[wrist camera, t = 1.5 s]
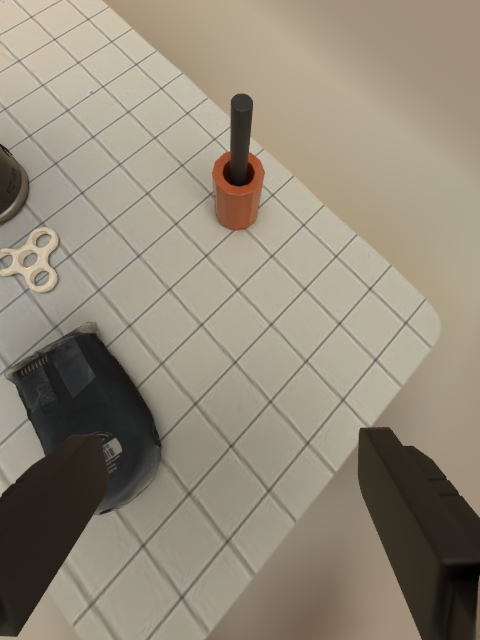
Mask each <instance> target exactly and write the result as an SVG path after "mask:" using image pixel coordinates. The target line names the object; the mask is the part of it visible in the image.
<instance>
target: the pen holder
mask: <svg viewBox="0 0 480 640" xmlns="http://www.w3.org/2000/svg"><path fill="white" fill-rule="evenodd" d="M264 174H265V172H264V169H263V166H262V164H261V161H260V160H259V159H258V158H256V157H255V156H254V155H253V154H251V153H249V155H248V167H247V178H246V185H244V186H241V187H239V186H234V185H230V152H226V153H225V154H223V155H222V156H221V157H220V158H219V159H218V160H216V162H215V164H214V168H213V172H212V176H213V189H214V201H215V210H216V215H217V218H218V220H219V221H220V223H221V224H222V225H224V226H225V227H227V228H229V229H232V230H242V229H245V228H247V227H249V226H251V225H252V224H253V223H254V221H255V220H256V217H257V213H258V208H259V202H260V197H261V191H262V185H263V180H264Z"/></svg>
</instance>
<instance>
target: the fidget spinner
mask: <svg viewBox="0 0 480 640" xmlns="http://www.w3.org/2000/svg"><path fill="white" fill-rule="evenodd" d="M42 234H50V236H51V240H50V242H49V244H48V245H46V246H45V247H37V246H36V240H37V238H38V237H39V236H40V235H42ZM57 245H58V236H57V234H56V232H55V231H53V230H52V229H50V228H47V227H40V228H37V229H35V230H33V231H32V232H31V233H30V235H29V237H28V240H27V242H26V244H25V245H24V246H23V247H21V248H19V249H9V248H3V249H0V259H1V258H2V257H3V256H6V255H12V257H13V262H12V264H11V266H10V267H8V268H6V269H3V270H0V275H1V276H9V275H12V274H15V273H20V274H22V275H23V276H24V277H25V279H26V284H27V286H28V287H29V288H30V289H31V290H33V291H35V292H40V293H41V292H47V291H49V290H51V289H52V288H53V287H54V286H55V284H56V282H57V273H56V271H55V270H54V269H53V268H52V267H50V265H49V264H48V256H49V254H50V253H51V252H52V251H53V250H54V249H55V248H56V247H57ZM31 253H36V254H37V261H36V263H35V264H34V265H33V266H31V267H24V265H23V261H24V259H25V257H26V256H27V255H29V254H31ZM41 271H48V273H49V280H48V282H47V283H46V284H44V285H42V286H36V285H35V283H34V278H35V276H36V275H37V274H38V273H39V272H41Z"/></svg>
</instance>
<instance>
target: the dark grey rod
mask: <svg viewBox="0 0 480 640" xmlns="http://www.w3.org/2000/svg"><path fill="white" fill-rule="evenodd" d="M252 111H253V101H252V99H251V97H249V96H248V95H246V94H237V95H235V96H234V97H233V98H232V100H231V144H230V185H234V186H239V187H241V186H244V185H246V178H247V167H248V155H249V144H250V133H251V122H252Z"/></svg>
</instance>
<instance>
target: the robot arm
mask: <svg viewBox="0 0 480 640" xmlns="http://www.w3.org/2000/svg"><path fill="white" fill-rule="evenodd" d="M5 150H6V151H7V152H8V153H10V152H9V151H8V150H7V148H5V147H4V146H2V145H1V144H0V224H2V223H4V222H6V221H7V220H9V219H10V218H11V217H13V216H14V215H15V214H16V213H17V212H18V211H19V209H20V208H21V207H22V205H23V204H24V202H25V200H26V197H27V194H28V188H29V184H28V177H27V175H26V172H25V170H24V169H23V167H22V166H21V165H20V164H19V163H18V162H17V161H16V160H15V159H14V158H13V157H12V156H11V155H12V154H11V153H10V154H11V155H10V154H8V153H7V152H6V151H5ZM358 479H359V485H360V489H361V493H362V496H363V498H364V500H365V503H366V506H367V508H368V511H369V513H370V515H371V518H372V520H373V523H374V525H375V527H376V530H377V532H378V535H379V537H380V540H381V542H382V544H383V547H384V549H385V551H386V554H387V556H388V559H389V561H390V564H391V566H392V568H393V571H394V573H395V576H396V578H397V581H398V583H399V585H400V588H401V590H402V593H403V595H404V597H405V600H406V602H407V605H408V607H409V610H410V612H411V614H412V617H413V619H414V622H415V624H416V626H417V629H418V631H419V633H420V636H421V639H422V640H480V518H479V517H478V515H477V514H476V513H475V512H474V510H473V509H472V508H471V507H470V506H469V504H468V503H467V502H466V501H465V499H464V498H463V497H462V496H460V495H459V493H458V491H457V490H456V488H455V487H454V486H453V485H452V483H451V482H450V481H449V480H447V479H446V476H445V475H444V474H443V472H442V471H441V470H440V469H439V467H438V466H437V465H436V464H435V463H434V461H433V460H432V459H430V458H429V457H428V456H426V455H425V454H424V453H422V452H420V451H419V450H418V449H416V448H415V447H414V446H403V445H402V444H401V442H400V441H399V440H398V438H397V437H396V435H395V434H394V433H393V431H392V430H391V429H390V428H389V427H375V428H374V427H372V428H360V430H359V449H358ZM108 484H109V472H108V468H107V464H106V460H105V455H104V451H103V447H102V443H101V439H100V437H99V436H98V435H97V434H79V435H70V436H69V437H67V438H66V439H65V440H64V441H63V442H62V443H61V444H60V445H59V446H58V447H57V448H56V449H55V450H54V451H53V452H52V453H50V454H48V455H47V456H45V457H44V458H42V459H41V460H39V461H38V462H36V463H35V464H33V465H32V466H31V467H30V468H29V469H28V470H26V471H25V472H24V473H23V474H22V475H21V476H20V477H19V478H18V479H17V480H16V483H15V484H12V485H11V486H10V487H9V488H8V489H7V490H6V491H4V492H3V493H2V496H1V497H0V636H15V637H17V636H18V634H19V633H20V631H21V630H22V628H23V626H24V625H25V623H26V622H27V620H28V618H29V616H30V615H31V614H32V612H33V610H34V609H35V607H36V606H37V604H38V602H39V601H40V599H41V598H42V596H43V594H44V593H45V591H46V590H47V588H48V586H49V585H50V583H51V582H52V580H53V578H54V577H55V575H56V574H57V572H58V570H59V569H60V567H61V566H62V564H63V562H64V561H65V559H66V558H67V556H68V554H69V553H70V551H71V550H72V548H73V546H74V545H75V543H76V542H77V540H78V538H79V537H80V535H81V533H82V532H83V530H84V529H85V527H86V525H87V524H88V522H89V521H90V519H91V517H92V516H93V514H94V513H95V511H96V509H97V508H98V506H99V505H100V503H101V501H102V500H103V498H104V496H105V494H106V492H107V489H108Z"/></svg>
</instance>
